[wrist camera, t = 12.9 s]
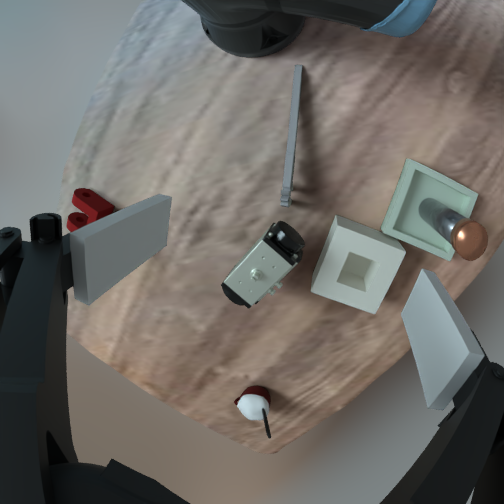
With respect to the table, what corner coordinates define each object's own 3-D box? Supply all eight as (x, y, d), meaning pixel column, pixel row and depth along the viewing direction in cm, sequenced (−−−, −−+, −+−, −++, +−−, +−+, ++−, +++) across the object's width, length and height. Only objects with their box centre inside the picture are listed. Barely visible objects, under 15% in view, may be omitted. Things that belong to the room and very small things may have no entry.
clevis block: (335, 214, 43) (337, 225, 37) (396, 238, 42) (406, 252, 36) (312, 274, 47) (310, 291, 41) (370, 294, 46) (374, 314, 40)
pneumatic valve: (237, 261, 49) (211, 296, 38) (285, 207, 44) (271, 229, 33) (263, 283, 49) (245, 324, 38) (313, 232, 44) (309, 263, 33)
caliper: (292, 202, 44) (287, 212, 38) (284, 201, 44) (278, 211, 38) (302, 65, 36) (299, 53, 31) (294, 65, 37) (290, 53, 31)
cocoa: (238, 395, 60) (219, 438, 50) (239, 376, 58) (218, 420, 47) (281, 405, 58) (268, 450, 47) (285, 387, 56) (271, 434, 45)
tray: (406, 158, 37) (411, 159, 35) (471, 191, 36) (478, 194, 34) (380, 228, 42) (383, 232, 39) (444, 255, 40) (450, 261, 38)
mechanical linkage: (78, 217, 54) (61, 224, 49) (86, 186, 51) (68, 191, 46) (136, 259, 54) (121, 270, 49) (148, 227, 51) (132, 236, 46)
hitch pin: (423, 192, 38) (466, 217, 24) (444, 202, 37) (493, 231, 24) (413, 217, 39) (451, 252, 26) (435, 227, 39) (477, 265, 25)
